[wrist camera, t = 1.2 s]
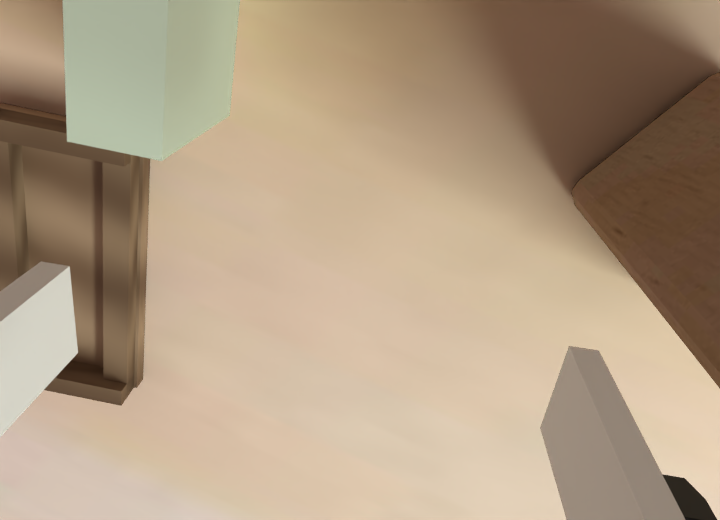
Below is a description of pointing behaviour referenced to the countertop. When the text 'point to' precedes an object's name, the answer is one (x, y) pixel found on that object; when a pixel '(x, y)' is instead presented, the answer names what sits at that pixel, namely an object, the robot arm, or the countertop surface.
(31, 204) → the track
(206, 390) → the countertop surface
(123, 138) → the rectangular block
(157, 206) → the countertop surface
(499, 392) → the countertop surface
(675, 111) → the wooden block
